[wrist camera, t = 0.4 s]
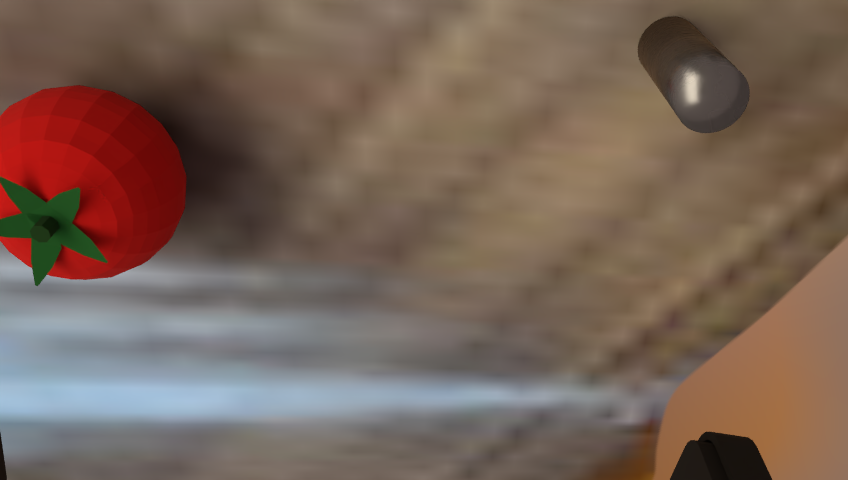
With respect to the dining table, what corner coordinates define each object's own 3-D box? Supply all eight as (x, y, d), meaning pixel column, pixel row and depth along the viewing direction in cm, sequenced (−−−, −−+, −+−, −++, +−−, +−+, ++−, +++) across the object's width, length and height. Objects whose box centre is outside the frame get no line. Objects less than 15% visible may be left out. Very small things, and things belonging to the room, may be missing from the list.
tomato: (224, 99, 43) (169, 177, 35) (188, 246, 48) (132, 346, 40) (36, 33, 42) (-71, 98, 33) (18, 193, 47) (-78, 285, 38)
